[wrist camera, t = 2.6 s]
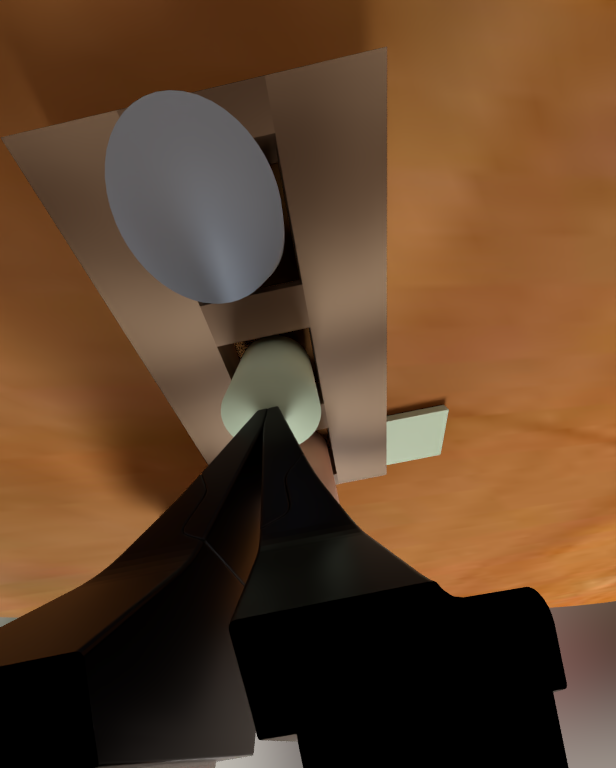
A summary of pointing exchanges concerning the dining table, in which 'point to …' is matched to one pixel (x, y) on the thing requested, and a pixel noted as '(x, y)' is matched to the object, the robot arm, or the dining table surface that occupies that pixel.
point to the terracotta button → (320, 461)
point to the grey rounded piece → (194, 197)
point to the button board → (268, 304)
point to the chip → (415, 434)
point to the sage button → (273, 386)
